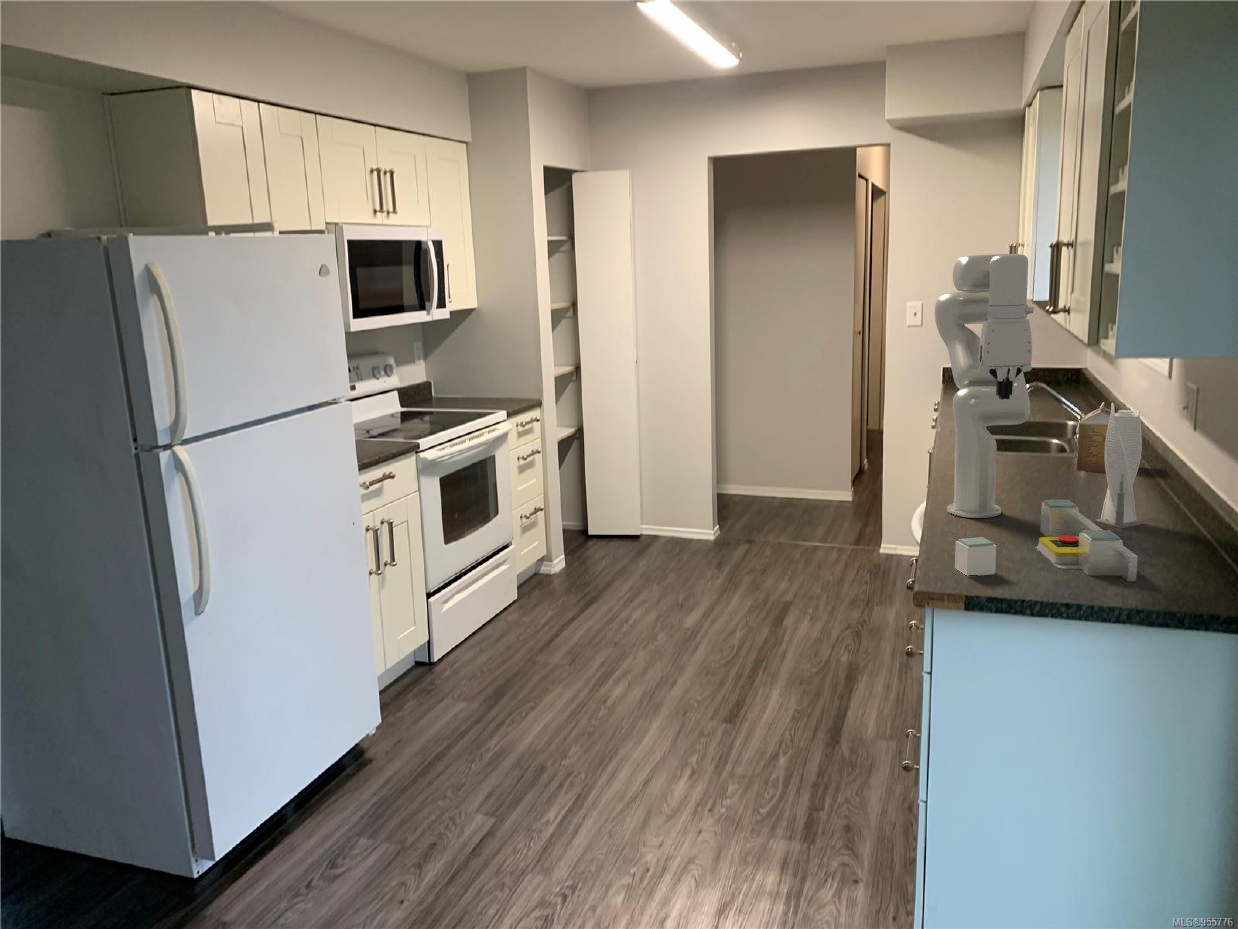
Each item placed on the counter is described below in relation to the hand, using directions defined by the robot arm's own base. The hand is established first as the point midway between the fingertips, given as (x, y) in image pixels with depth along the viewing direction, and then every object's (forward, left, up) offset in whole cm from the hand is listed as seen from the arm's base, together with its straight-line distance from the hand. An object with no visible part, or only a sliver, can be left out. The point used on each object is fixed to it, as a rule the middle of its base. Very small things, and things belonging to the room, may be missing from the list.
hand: (1003, 398), depth 197 cm
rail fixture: (+9, +14, -32) cm, 36 cm away
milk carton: (-73, +46, -32) cm, 92 cm away
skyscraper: (-14, +30, -32) cm, 46 cm away
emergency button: (+13, +11, -33) cm, 37 cm away
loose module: (+22, -10, -32) cm, 40 cm away
